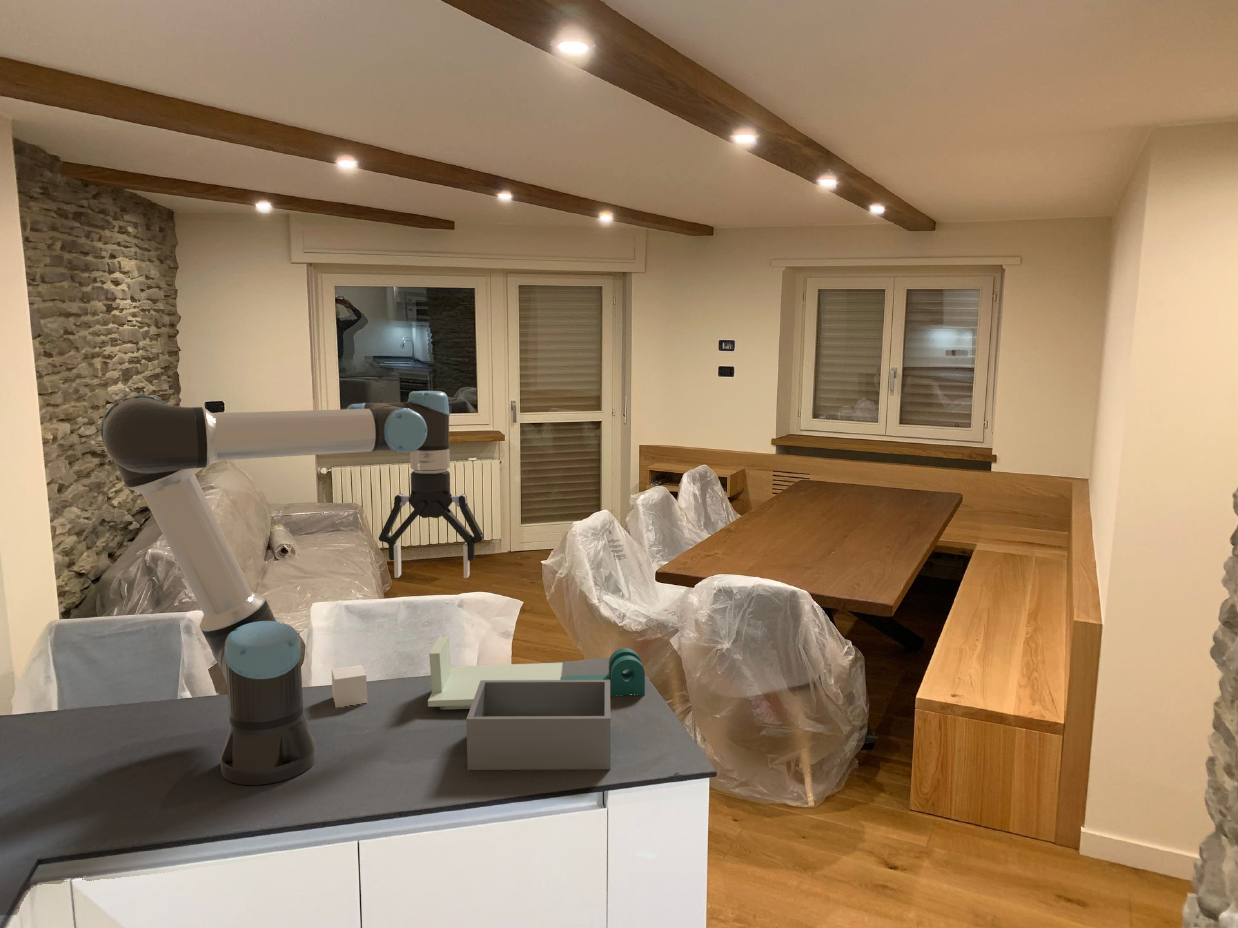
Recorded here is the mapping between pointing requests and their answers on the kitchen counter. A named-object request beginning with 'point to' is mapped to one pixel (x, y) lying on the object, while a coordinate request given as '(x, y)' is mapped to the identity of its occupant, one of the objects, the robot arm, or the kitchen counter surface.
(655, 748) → the kitchen counter surface
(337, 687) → the white cube
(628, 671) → the bracket
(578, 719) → the tub
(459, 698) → the pale green l-shaped plate
